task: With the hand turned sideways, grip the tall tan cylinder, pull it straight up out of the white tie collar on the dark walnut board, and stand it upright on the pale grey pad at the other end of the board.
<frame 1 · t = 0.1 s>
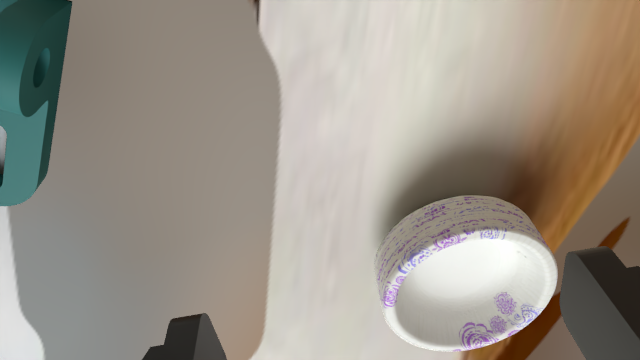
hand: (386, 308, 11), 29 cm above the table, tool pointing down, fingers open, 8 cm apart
paper bowls: (444, 237, 49), on the table
bracket: (11, 96, 39), on the table
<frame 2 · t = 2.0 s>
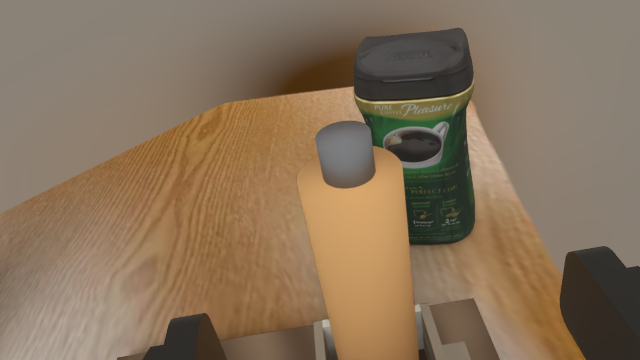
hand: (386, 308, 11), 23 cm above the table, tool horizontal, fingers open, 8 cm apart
coffee jar: (422, 222, 49), on the table
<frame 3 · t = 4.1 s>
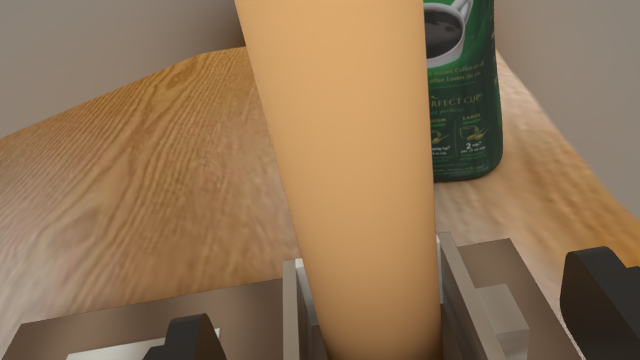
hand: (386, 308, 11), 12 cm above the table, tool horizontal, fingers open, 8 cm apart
coffee jar: (434, 159, 38), on the table
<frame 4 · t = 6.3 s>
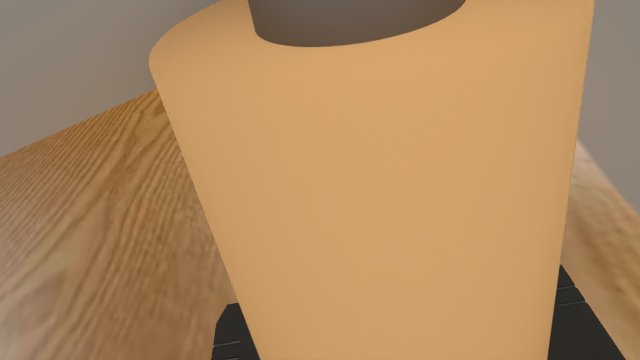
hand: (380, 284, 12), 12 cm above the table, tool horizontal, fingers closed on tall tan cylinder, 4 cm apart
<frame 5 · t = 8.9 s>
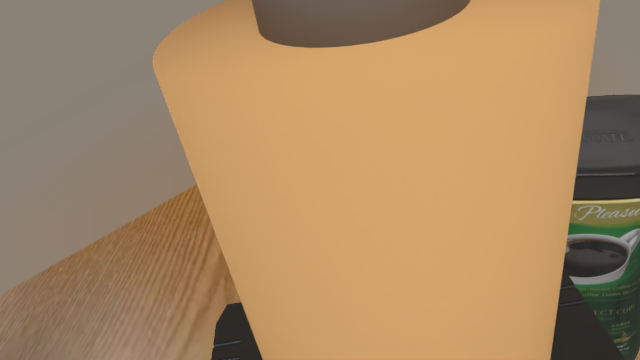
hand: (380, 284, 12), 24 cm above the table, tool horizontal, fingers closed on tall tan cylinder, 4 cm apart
coffee jar: (557, 331, 37), on the table
when the fingers open (14 cm above the table, at t = 11.7 s): tall tan cylinder drops 1 cm, resting on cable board.
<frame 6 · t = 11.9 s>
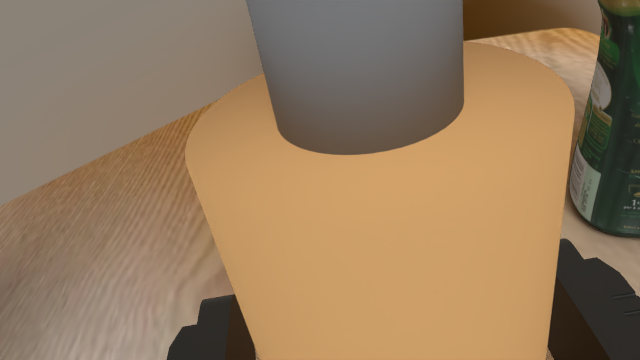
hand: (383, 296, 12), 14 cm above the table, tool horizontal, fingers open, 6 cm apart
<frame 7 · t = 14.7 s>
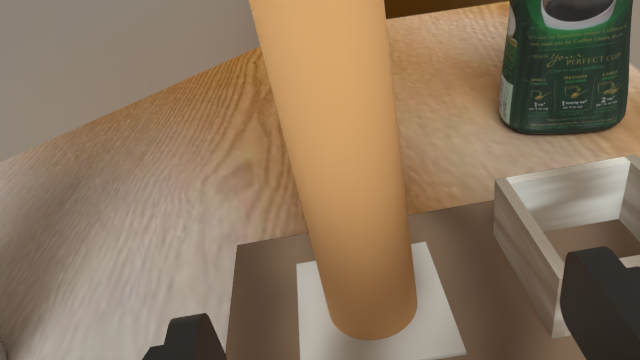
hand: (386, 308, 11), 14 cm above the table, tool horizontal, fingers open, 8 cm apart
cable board: (479, 304, 28), on the table
coffee jar: (556, 117, 43), on the table
tall tan cylinder: (372, 303, 27), point 2 cm above the table, touching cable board
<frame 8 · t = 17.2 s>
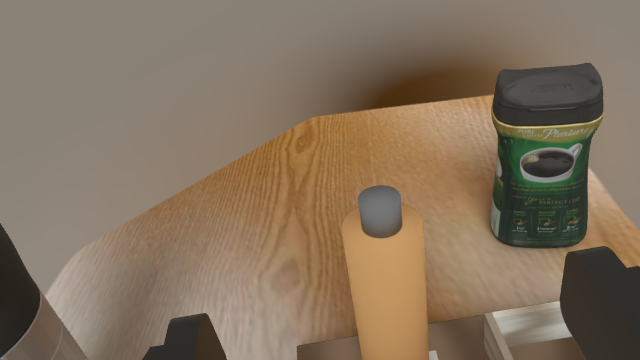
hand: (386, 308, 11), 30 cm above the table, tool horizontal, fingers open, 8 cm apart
coffee jar: (534, 228, 55), on the table
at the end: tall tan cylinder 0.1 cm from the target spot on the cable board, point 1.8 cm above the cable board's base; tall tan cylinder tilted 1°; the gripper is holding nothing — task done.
